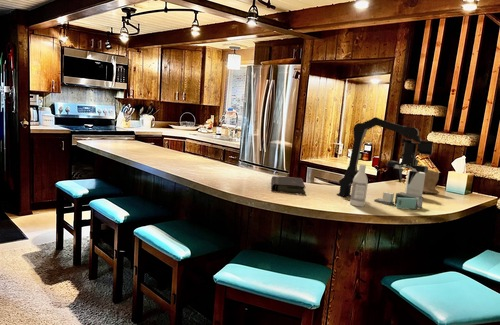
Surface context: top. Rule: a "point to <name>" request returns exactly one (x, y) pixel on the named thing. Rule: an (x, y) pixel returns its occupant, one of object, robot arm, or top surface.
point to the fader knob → (388, 196)
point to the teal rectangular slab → (406, 203)
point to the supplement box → (415, 184)
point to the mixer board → (383, 201)
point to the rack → (406, 195)
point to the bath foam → (359, 187)
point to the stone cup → (430, 182)
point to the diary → (288, 184)
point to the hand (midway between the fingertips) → (404, 183)
